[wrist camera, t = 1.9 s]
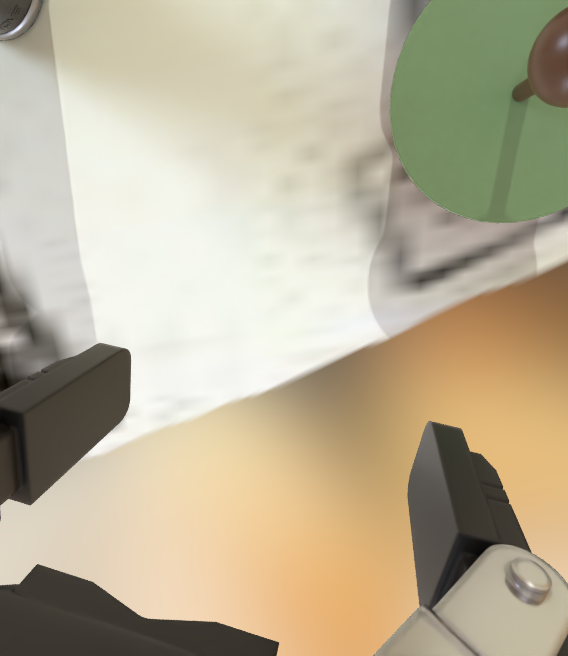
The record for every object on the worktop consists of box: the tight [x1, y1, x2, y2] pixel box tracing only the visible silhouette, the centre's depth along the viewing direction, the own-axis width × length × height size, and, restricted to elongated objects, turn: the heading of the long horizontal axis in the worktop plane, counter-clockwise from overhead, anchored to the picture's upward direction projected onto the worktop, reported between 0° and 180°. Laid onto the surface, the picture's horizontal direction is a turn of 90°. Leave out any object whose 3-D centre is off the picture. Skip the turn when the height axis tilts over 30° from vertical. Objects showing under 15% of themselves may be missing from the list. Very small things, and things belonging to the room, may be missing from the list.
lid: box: [390, 0, 568, 223], centre depth 19 cm, size 14×14×10 cm
